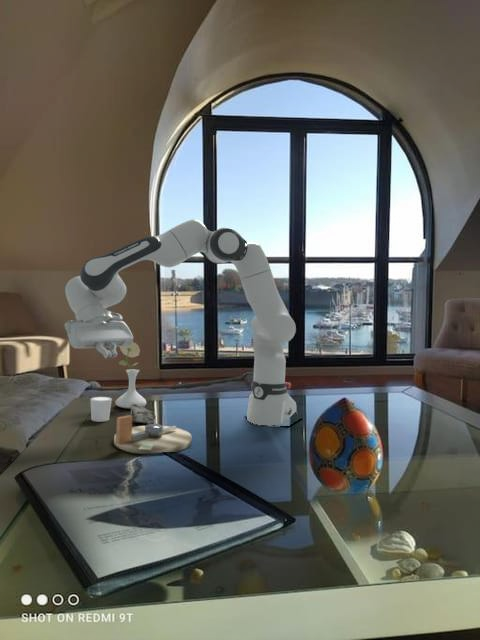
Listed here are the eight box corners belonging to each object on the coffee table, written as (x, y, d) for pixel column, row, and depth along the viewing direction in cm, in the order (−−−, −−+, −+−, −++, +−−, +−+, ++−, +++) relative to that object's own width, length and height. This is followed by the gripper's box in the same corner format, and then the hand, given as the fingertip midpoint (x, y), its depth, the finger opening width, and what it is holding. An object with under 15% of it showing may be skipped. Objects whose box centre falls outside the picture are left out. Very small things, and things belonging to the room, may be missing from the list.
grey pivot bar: (169, 427, 138) (170, 404, 138) (181, 431, 135) (182, 408, 135) (111, 441, 122) (113, 416, 122) (123, 446, 119) (124, 420, 118)
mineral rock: (156, 426, 146) (157, 413, 145) (131, 427, 143) (132, 413, 143) (152, 415, 160) (153, 402, 160) (129, 415, 157) (130, 403, 157)
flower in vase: (152, 407, 170) (156, 341, 169) (130, 412, 161) (133, 342, 159) (128, 401, 177) (131, 338, 176) (105, 406, 167) (108, 339, 166)
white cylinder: (91, 422, 145) (92, 401, 145) (87, 417, 151) (88, 396, 151) (112, 421, 148) (113, 400, 148) (108, 416, 154) (109, 395, 154)
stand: (157, 426, 146) (157, 421, 146) (207, 442, 132) (207, 437, 132) (97, 440, 128) (98, 434, 128) (148, 460, 115) (148, 454, 115)
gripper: (66, 313, 129) (84, 351, 123) (125, 314, 145) (143, 348, 139) (57, 328, 132) (74, 365, 126) (116, 327, 148) (133, 360, 142)
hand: (111, 356), depth 133 cm, fingers closed
